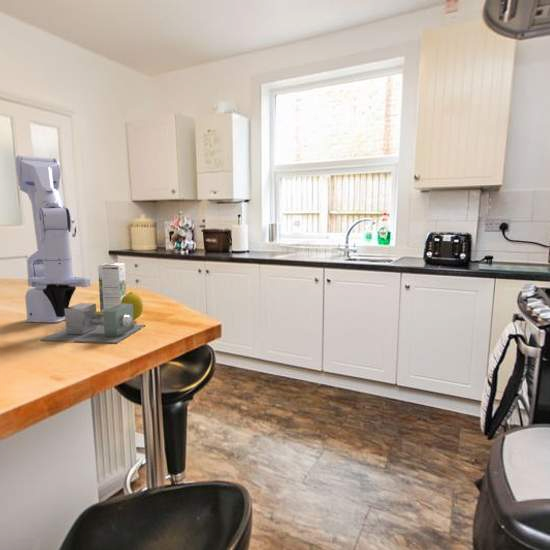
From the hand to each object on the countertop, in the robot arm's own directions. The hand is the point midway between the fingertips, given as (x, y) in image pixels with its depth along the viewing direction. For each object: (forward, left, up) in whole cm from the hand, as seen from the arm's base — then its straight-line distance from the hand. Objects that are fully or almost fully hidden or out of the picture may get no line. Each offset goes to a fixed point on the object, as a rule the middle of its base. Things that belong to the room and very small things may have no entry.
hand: (61, 316), depth 91 cm
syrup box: (+2, +19, -4) cm, 20 cm away
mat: (+8, 0, -4) cm, 9 cm away
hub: (+5, 0, -4) cm, 6 cm away
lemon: (+12, +11, -4) cm, 17 cm away
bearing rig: (+13, 0, -4) cm, 13 cm away
